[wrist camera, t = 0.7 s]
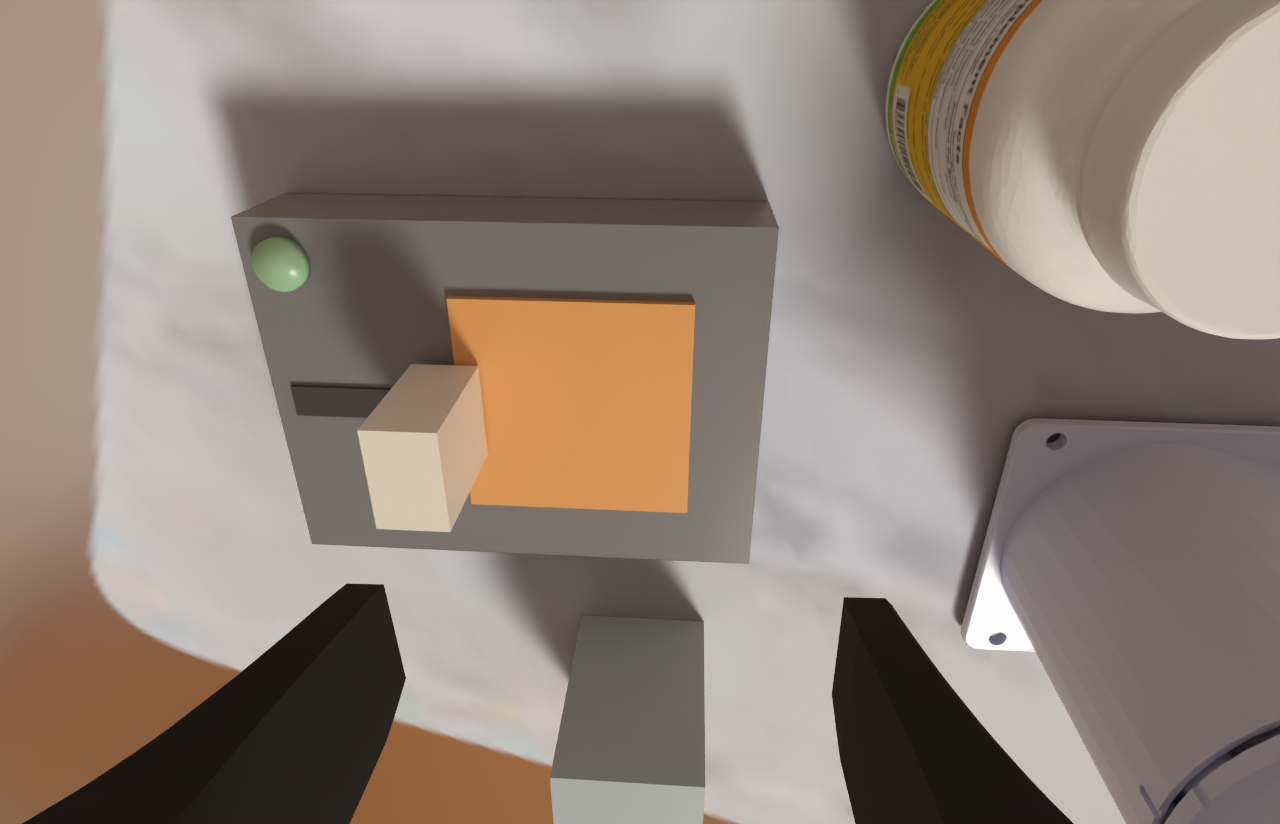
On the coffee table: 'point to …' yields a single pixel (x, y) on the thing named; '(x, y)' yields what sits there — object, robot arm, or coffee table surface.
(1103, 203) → the supplement bottle
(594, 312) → the switch box
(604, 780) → the block
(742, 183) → the coffee table surface
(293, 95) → the coffee table surface
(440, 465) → the lever
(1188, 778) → the robot arm
